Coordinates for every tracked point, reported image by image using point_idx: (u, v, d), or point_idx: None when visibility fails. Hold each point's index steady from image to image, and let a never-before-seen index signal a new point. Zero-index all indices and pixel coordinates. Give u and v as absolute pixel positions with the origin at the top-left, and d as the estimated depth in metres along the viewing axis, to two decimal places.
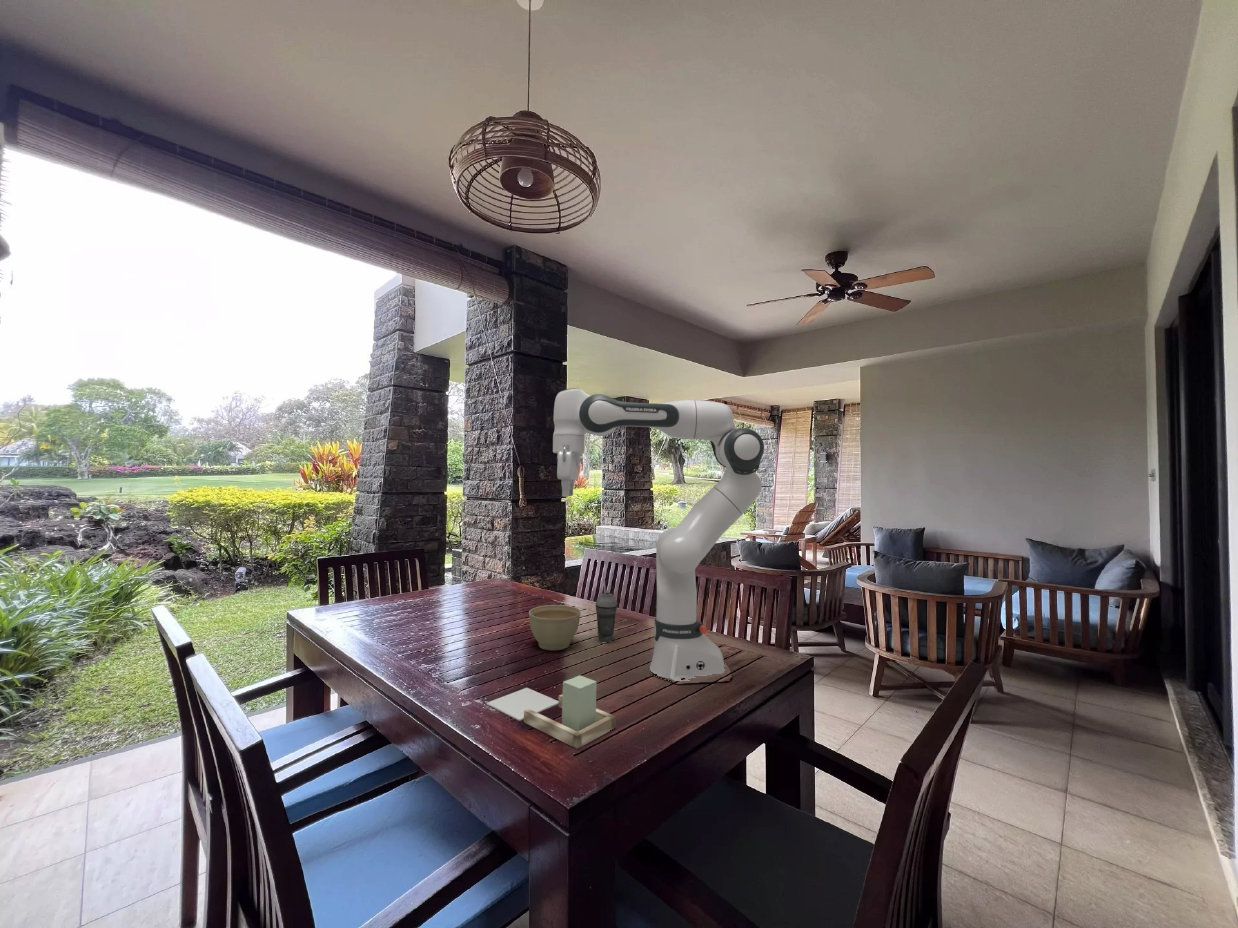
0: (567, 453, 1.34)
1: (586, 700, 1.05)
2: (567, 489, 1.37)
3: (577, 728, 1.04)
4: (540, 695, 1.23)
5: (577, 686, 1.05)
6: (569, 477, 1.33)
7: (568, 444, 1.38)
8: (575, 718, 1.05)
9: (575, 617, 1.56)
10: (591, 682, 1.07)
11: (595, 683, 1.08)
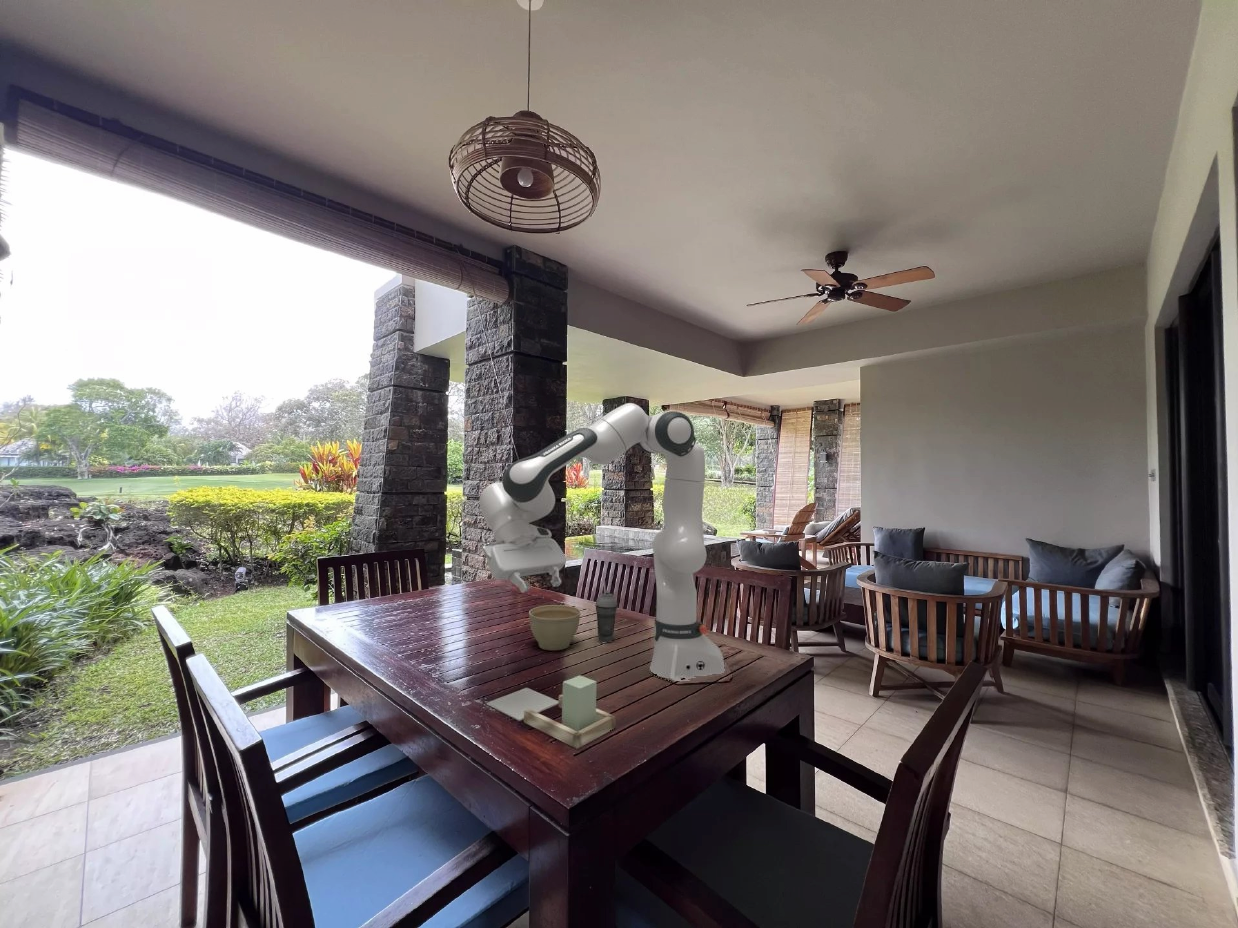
0: (491, 548, 1.15)
1: (586, 700, 1.05)
2: (520, 582, 1.13)
3: (577, 728, 1.04)
4: (540, 695, 1.23)
5: (577, 686, 1.05)
6: (502, 570, 1.11)
7: (502, 539, 1.19)
8: (575, 718, 1.05)
9: (575, 617, 1.56)
10: (591, 682, 1.07)
11: (595, 683, 1.08)
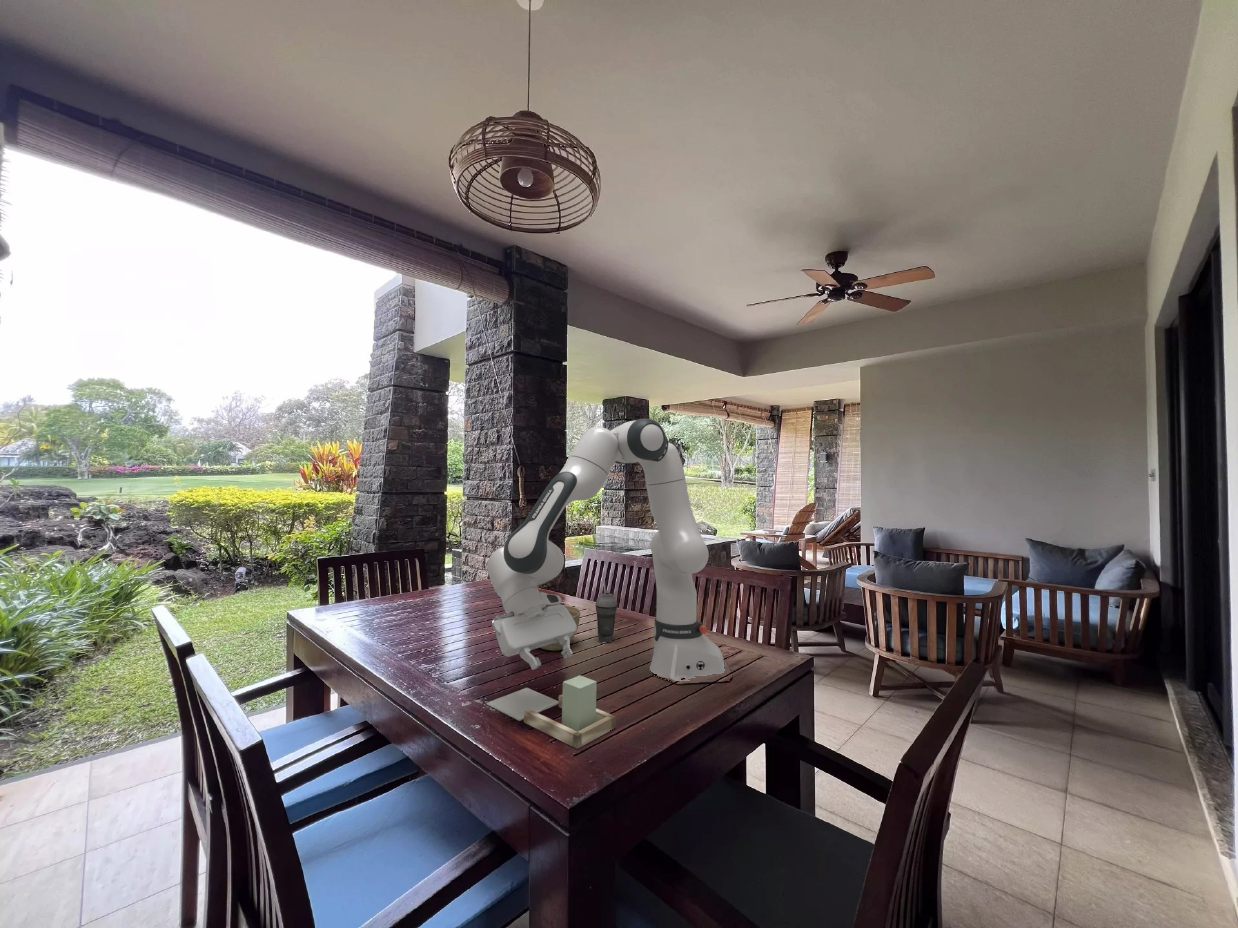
0: (500, 622, 1.11)
1: (586, 700, 1.05)
2: (530, 658, 1.09)
3: (577, 728, 1.04)
4: (540, 695, 1.23)
5: (577, 686, 1.05)
6: (512, 647, 1.07)
7: (511, 610, 1.16)
8: (575, 718, 1.05)
9: (575, 617, 1.56)
10: (591, 682, 1.07)
11: (595, 683, 1.08)
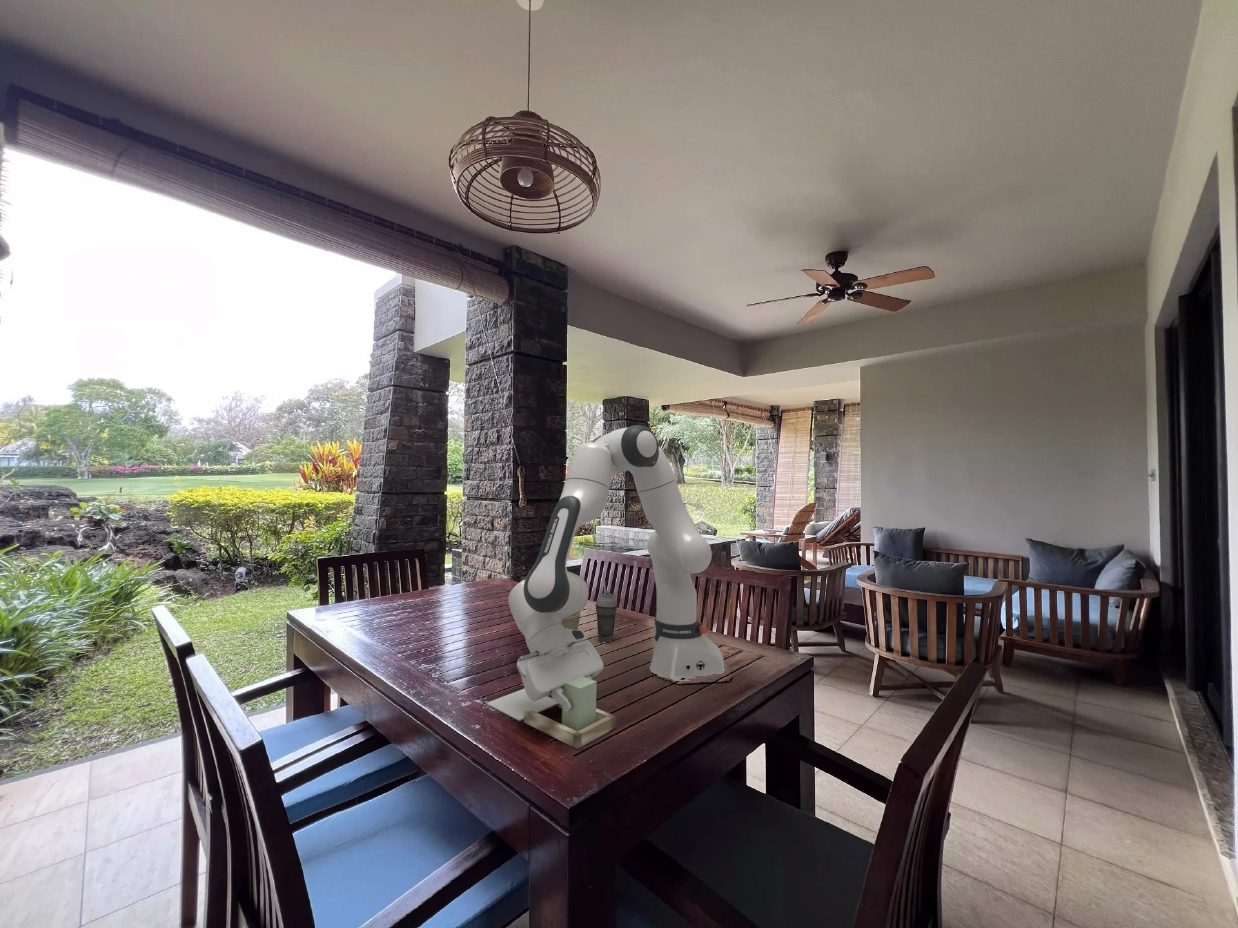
0: (526, 664, 1.05)
1: (586, 700, 1.05)
2: (563, 700, 1.04)
3: (577, 728, 1.04)
4: None
5: (577, 686, 1.05)
6: (539, 692, 1.01)
7: (536, 649, 1.10)
8: (575, 718, 1.05)
9: (575, 617, 1.56)
10: (591, 682, 1.07)
11: (595, 683, 1.08)
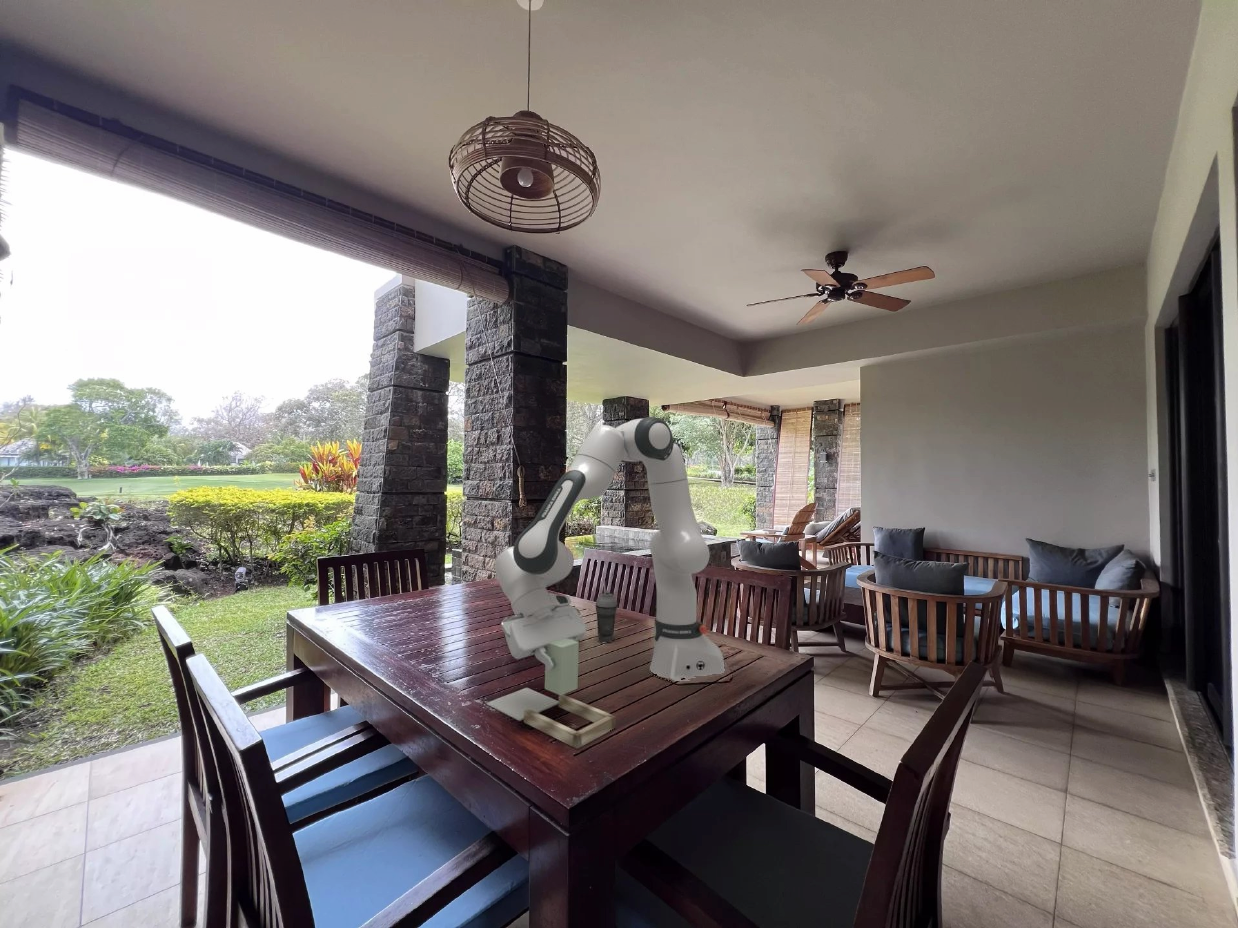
0: (510, 624, 1.09)
1: (568, 659, 1.09)
2: (546, 659, 1.08)
3: (560, 686, 1.08)
4: (540, 695, 1.23)
5: (560, 645, 1.09)
6: (522, 650, 1.05)
7: (520, 611, 1.14)
8: (557, 676, 1.08)
9: None
10: (573, 642, 1.11)
11: (577, 643, 1.11)
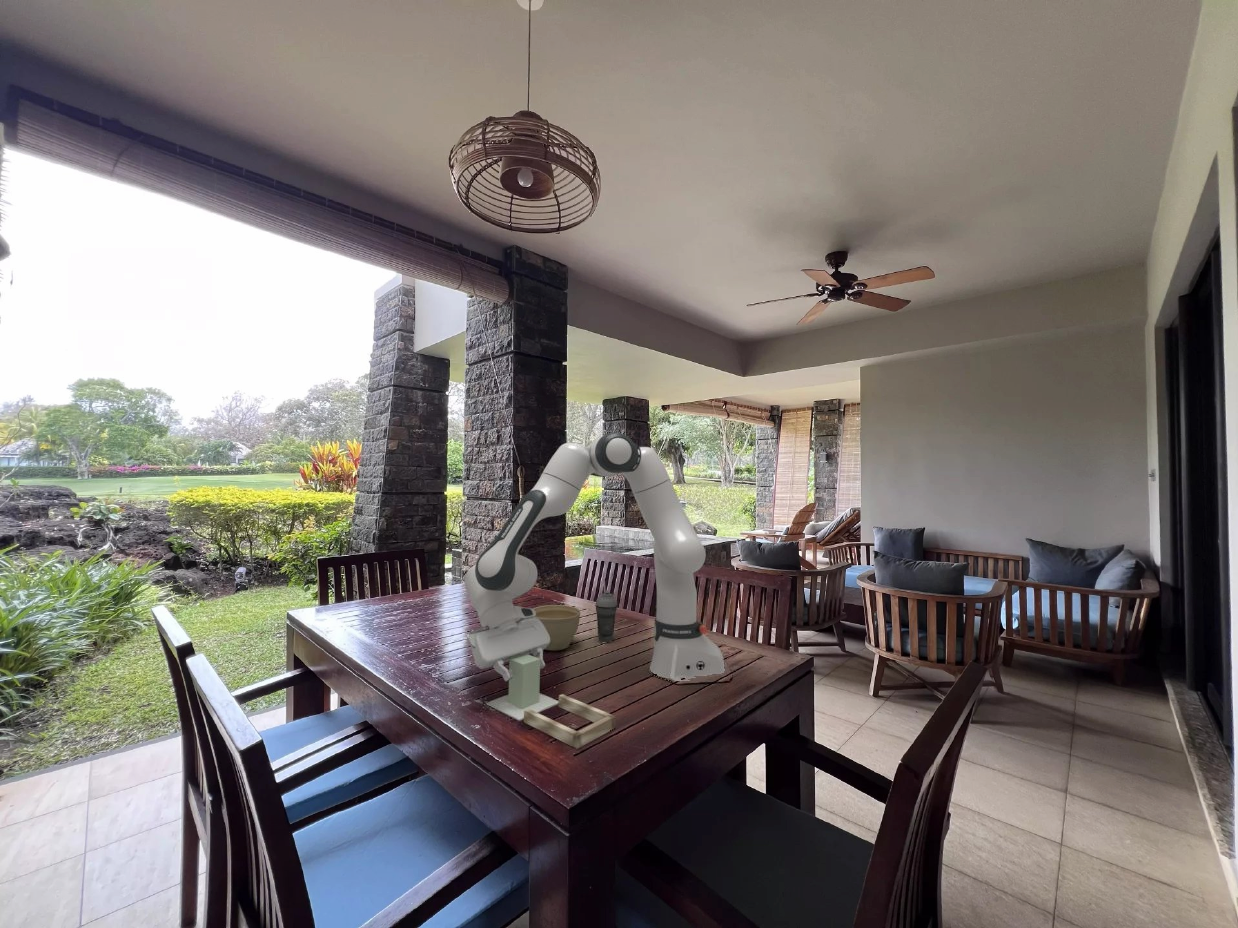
0: (475, 636, 1.17)
1: (529, 675, 1.17)
2: (503, 671, 1.15)
3: (521, 700, 1.16)
4: (540, 695, 1.23)
5: (521, 662, 1.17)
6: (485, 660, 1.13)
7: (486, 624, 1.22)
8: (519, 691, 1.16)
9: (575, 617, 1.56)
10: (535, 659, 1.19)
11: (539, 660, 1.19)
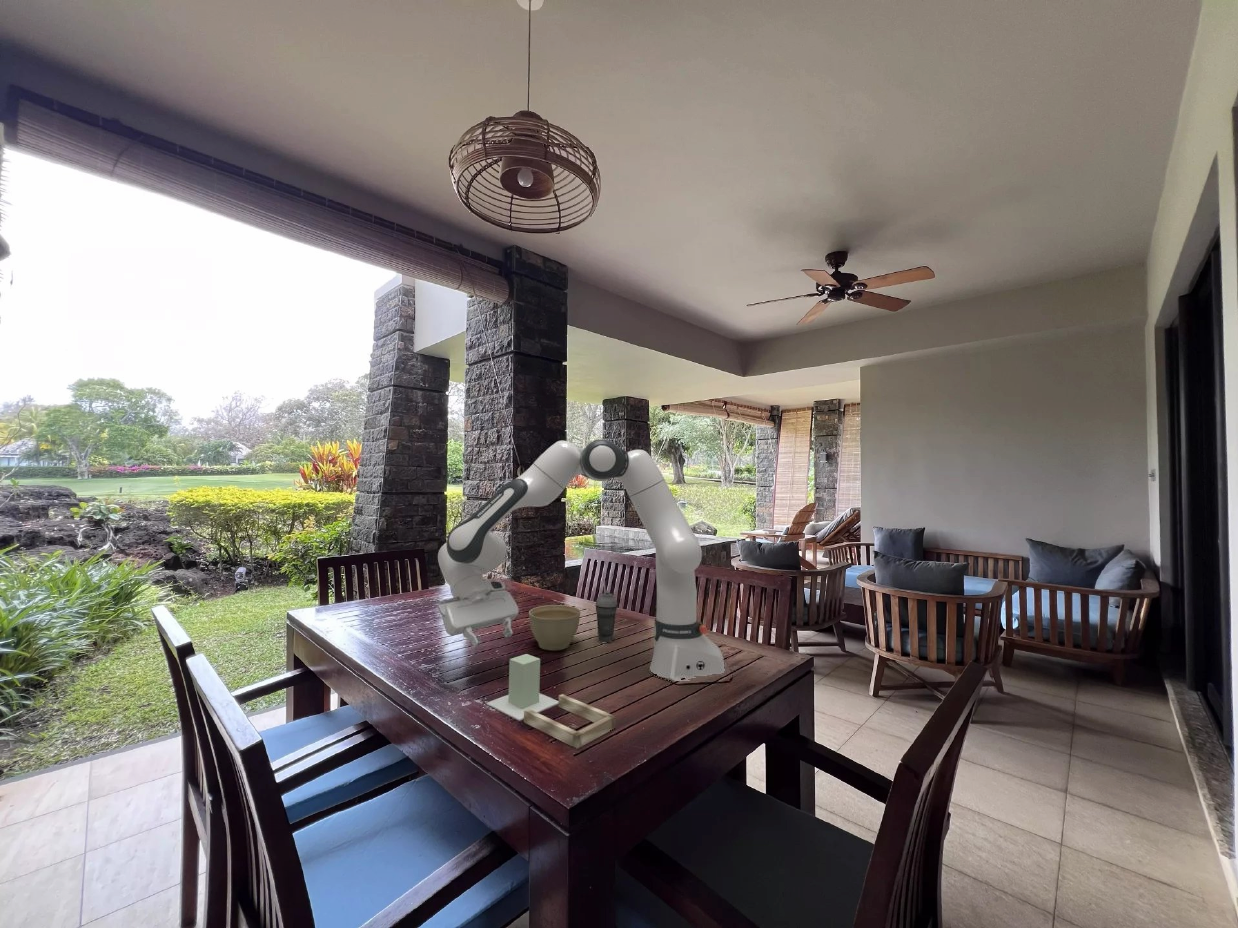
0: (445, 606, 1.25)
1: (529, 675, 1.17)
2: (472, 637, 1.24)
3: (521, 700, 1.16)
4: (540, 695, 1.23)
5: (521, 662, 1.17)
6: (454, 627, 1.22)
7: (457, 595, 1.30)
8: (519, 691, 1.16)
9: (575, 617, 1.56)
10: (535, 659, 1.19)
11: (539, 660, 1.19)
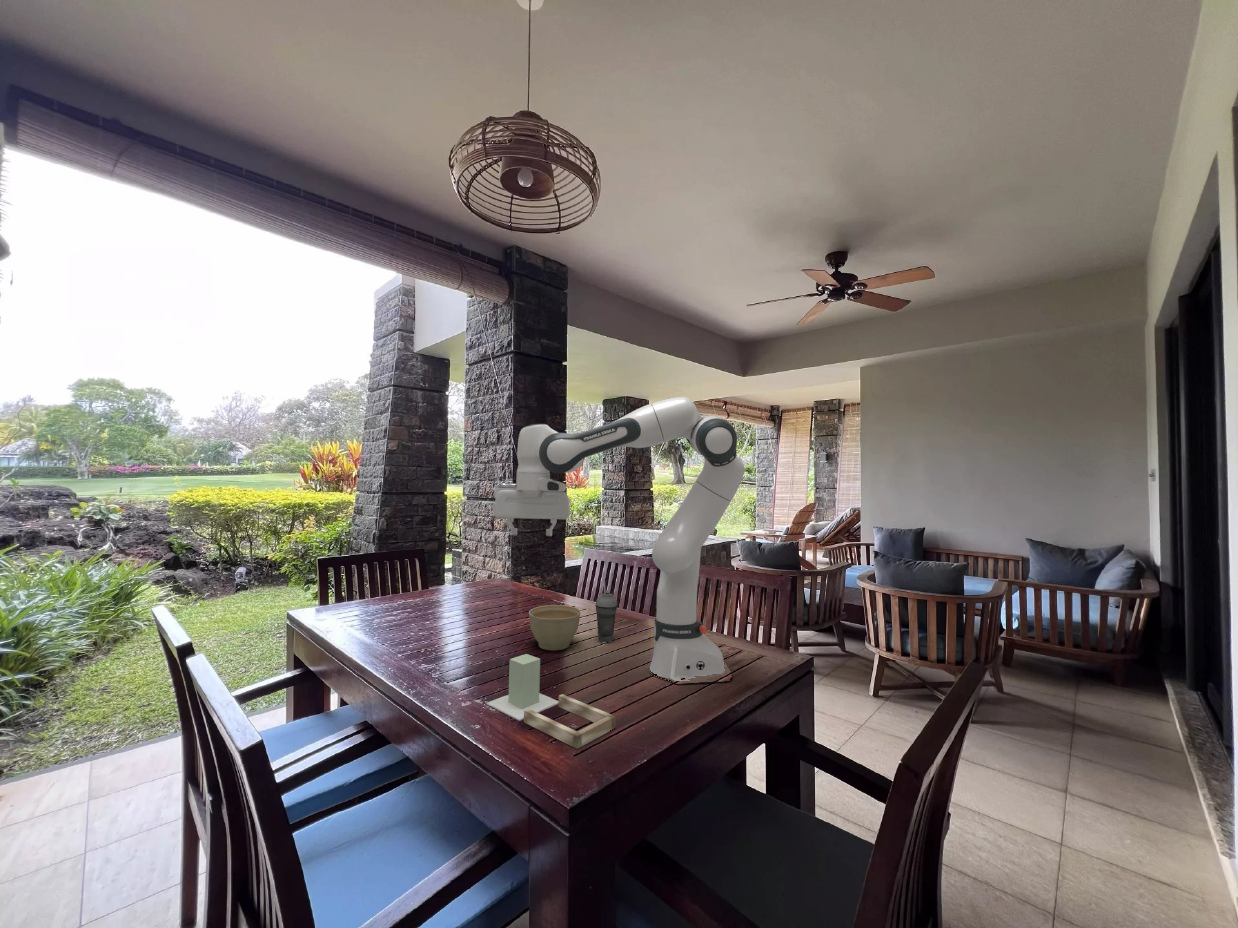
0: (499, 491, 1.37)
1: (529, 675, 1.17)
2: None
3: (521, 700, 1.16)
4: (540, 695, 1.23)
5: (521, 662, 1.17)
6: (495, 515, 1.36)
7: None
8: (519, 691, 1.16)
9: (575, 617, 1.56)
10: (535, 659, 1.19)
11: (539, 660, 1.19)
